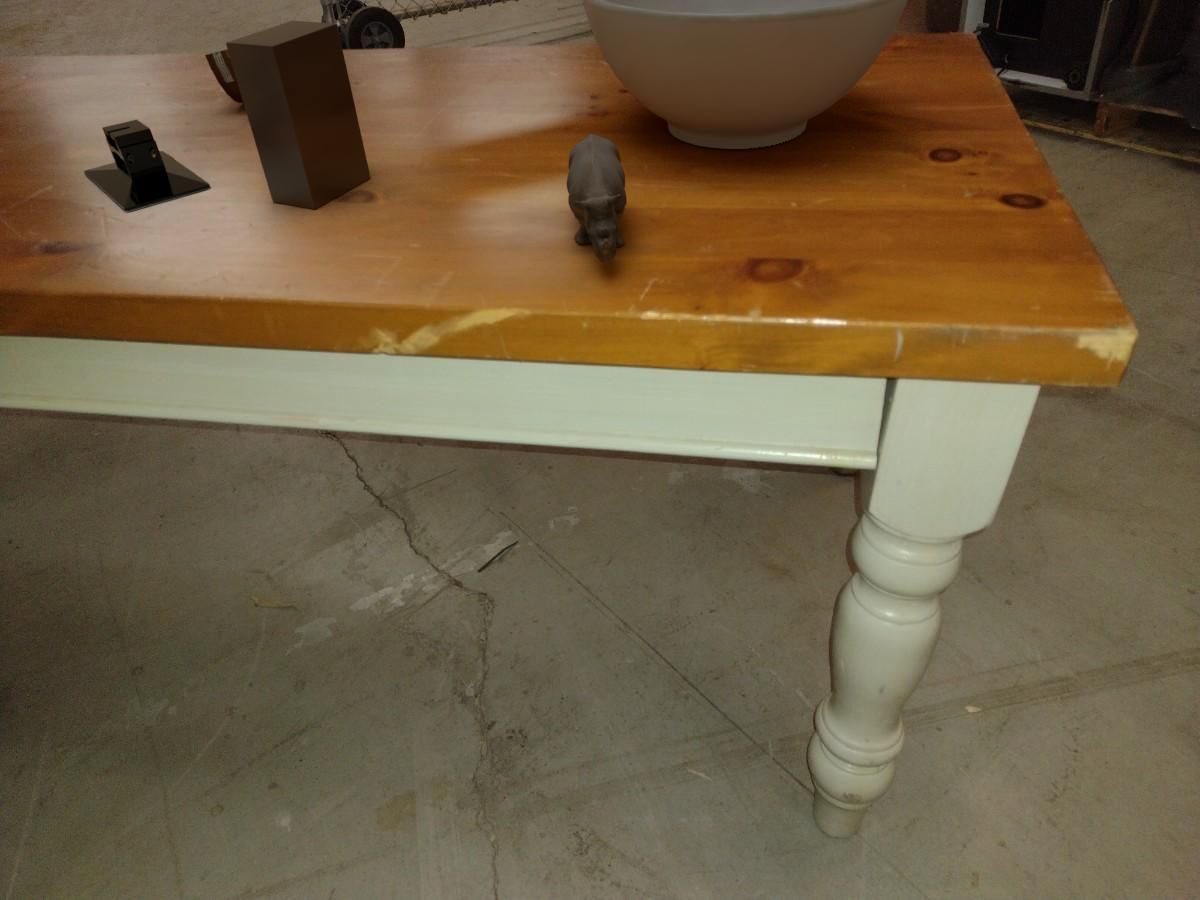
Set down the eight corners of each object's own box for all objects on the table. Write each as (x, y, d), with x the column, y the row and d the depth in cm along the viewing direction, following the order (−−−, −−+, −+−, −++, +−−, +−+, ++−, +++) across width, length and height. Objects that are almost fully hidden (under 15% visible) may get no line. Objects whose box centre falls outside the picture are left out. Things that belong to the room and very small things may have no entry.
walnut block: (272, 202, 70) (225, 42, 63) (329, 172, 75) (292, 20, 67) (315, 209, 68) (272, 46, 61) (371, 178, 73) (337, 23, 66)
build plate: (84, 175, 78) (62, 122, 75) (166, 154, 81) (148, 103, 78) (126, 212, 70) (102, 155, 67) (214, 187, 73) (196, 131, 71)
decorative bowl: (629, 80, 92) (626, -50, 84) (893, 87, 85) (914, -53, 78) (549, 172, 72) (535, 12, 64) (886, 191, 65) (914, 15, 58)
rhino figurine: (572, 289, 56) (565, 198, 52) (569, 205, 66) (563, 125, 63) (635, 284, 56) (633, 194, 52) (622, 201, 66) (619, 121, 63)
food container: (224, 120, 88) (318, 98, 87) (198, 55, 85) (295, 31, 84) (264, 108, 99) (348, 87, 98) (243, 50, 96) (329, 28, 95)
